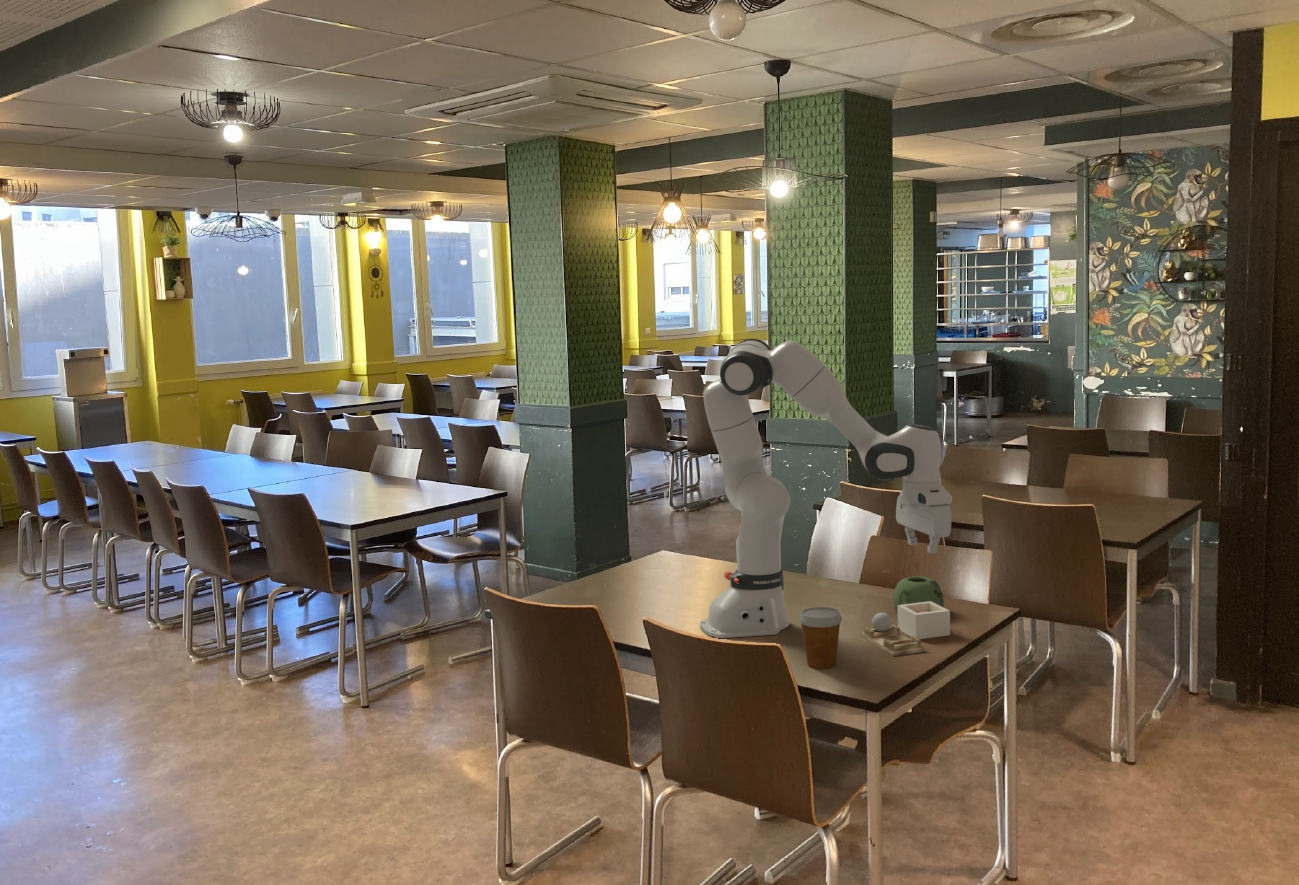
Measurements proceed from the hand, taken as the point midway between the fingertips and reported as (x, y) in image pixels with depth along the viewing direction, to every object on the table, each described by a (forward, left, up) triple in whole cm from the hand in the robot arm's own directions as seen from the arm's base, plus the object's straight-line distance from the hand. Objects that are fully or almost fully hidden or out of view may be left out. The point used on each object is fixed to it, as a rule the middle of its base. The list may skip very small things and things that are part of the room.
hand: (922, 548), depth 254 cm
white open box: (0, 0, -21) cm, 21 cm away
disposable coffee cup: (-32, -12, -21) cm, 40 cm away
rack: (-11, -5, -21) cm, 24 cm away
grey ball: (-11, 0, -17) cm, 20 cm away
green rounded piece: (+6, +15, -21) cm, 26 cm away
